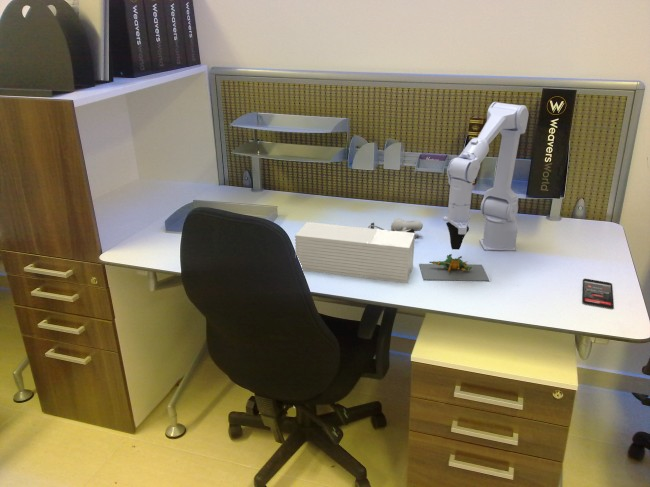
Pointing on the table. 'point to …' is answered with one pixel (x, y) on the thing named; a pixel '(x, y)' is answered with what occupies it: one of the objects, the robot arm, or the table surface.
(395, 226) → the clip-on lamp
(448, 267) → the figurine
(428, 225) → the table surface
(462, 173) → the robot arm
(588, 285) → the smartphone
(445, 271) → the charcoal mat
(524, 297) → the table surface
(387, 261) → the stack of papers
